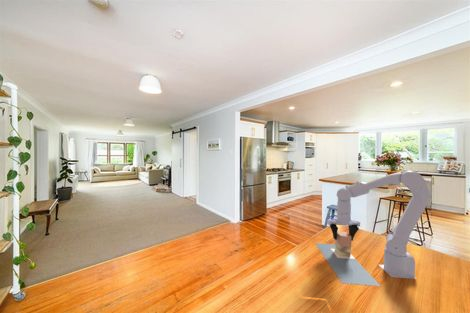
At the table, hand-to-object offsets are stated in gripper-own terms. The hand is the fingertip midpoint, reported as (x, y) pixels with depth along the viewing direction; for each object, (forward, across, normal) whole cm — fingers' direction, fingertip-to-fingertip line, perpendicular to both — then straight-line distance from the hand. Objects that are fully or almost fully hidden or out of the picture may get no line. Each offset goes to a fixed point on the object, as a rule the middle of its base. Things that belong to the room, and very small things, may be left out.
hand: (342, 239), depth 89 cm
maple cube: (+7, 0, 0) cm, 7 cm away
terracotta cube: (+2, 0, 0) cm, 2 cm away
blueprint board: (+8, +3, +6) cm, 10 cm away
